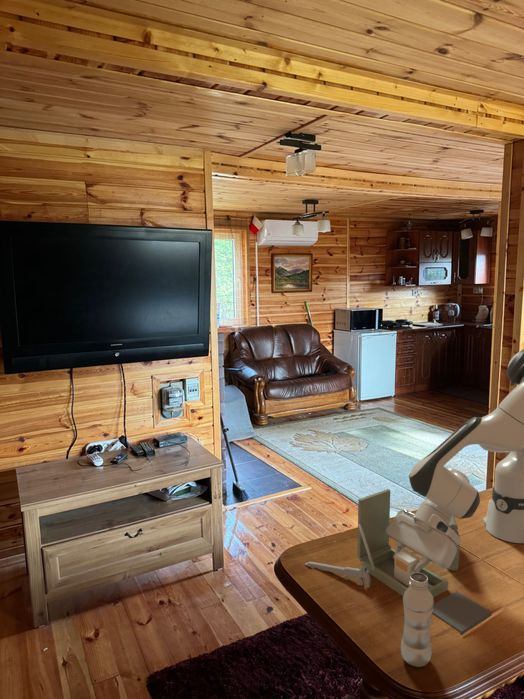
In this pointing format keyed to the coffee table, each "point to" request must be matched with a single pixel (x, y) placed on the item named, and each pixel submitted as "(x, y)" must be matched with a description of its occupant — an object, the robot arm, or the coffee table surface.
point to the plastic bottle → (417, 621)
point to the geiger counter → (456, 559)
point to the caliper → (344, 571)
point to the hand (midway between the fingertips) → (405, 565)
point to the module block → (404, 566)
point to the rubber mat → (460, 612)
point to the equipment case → (384, 545)
